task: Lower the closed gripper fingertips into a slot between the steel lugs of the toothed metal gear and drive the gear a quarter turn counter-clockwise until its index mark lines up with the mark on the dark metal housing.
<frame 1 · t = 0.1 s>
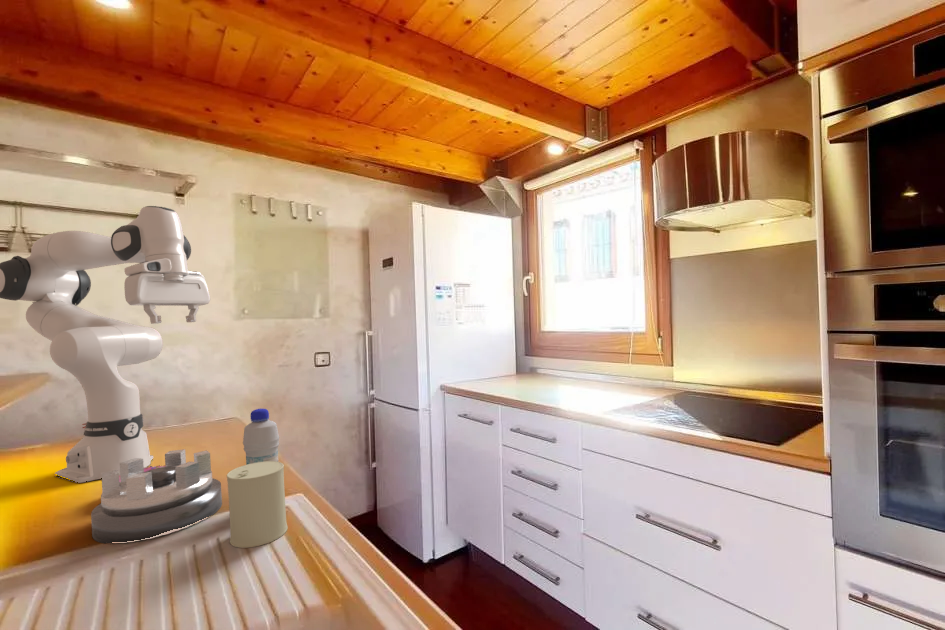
hand: (174, 322, 114), 39 cm above the countertop, tool pointing down, fingers open, 8 cm apart
donut: (143, 496, 101), on the countertop
toothed metal gear: (160, 478, 89), point 8 cm above the countertop, hinge at 0.0°
bottle: (265, 507, 91), on the countertop
can: (259, 535, 79), on the countertop
housing: (161, 516, 89), on the countertop
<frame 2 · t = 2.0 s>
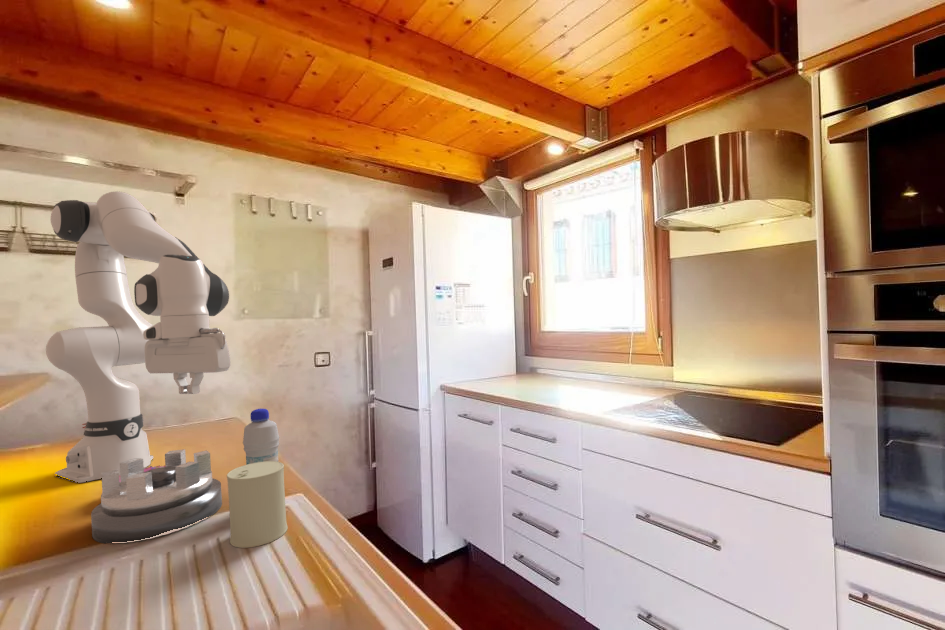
hand: (189, 393, 96), 23 cm above the countertop, tool pointing down, fingers closed
nothing on the countertop moved.
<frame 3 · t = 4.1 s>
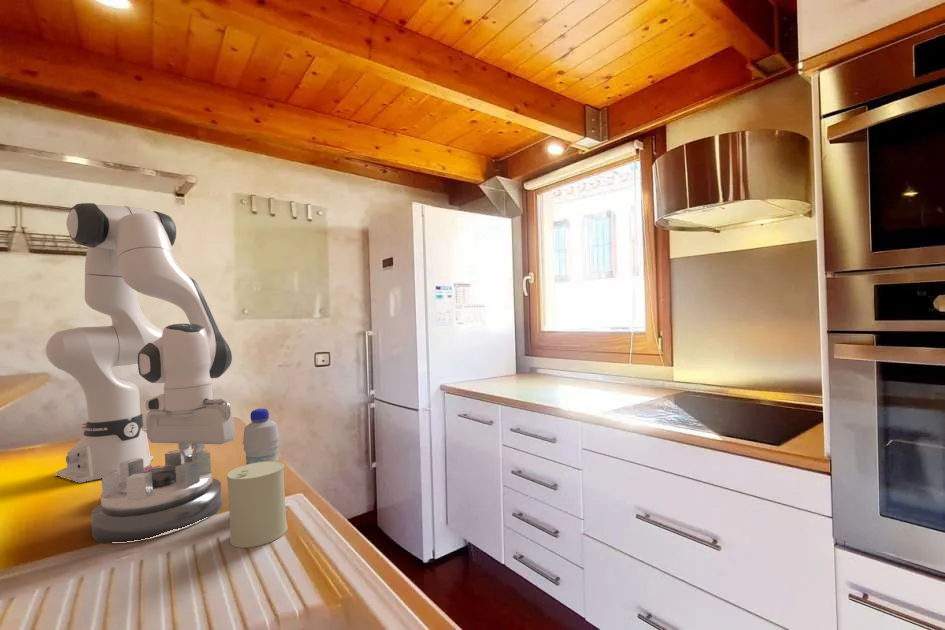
hand: (192, 463, 96), 8 cm above the countertop, tool pointing down, fingers closed
toothed metal gear: (160, 478, 89), point 8 cm above the countertop, hinge at 0.0°, touching gripper
everything else where it was.
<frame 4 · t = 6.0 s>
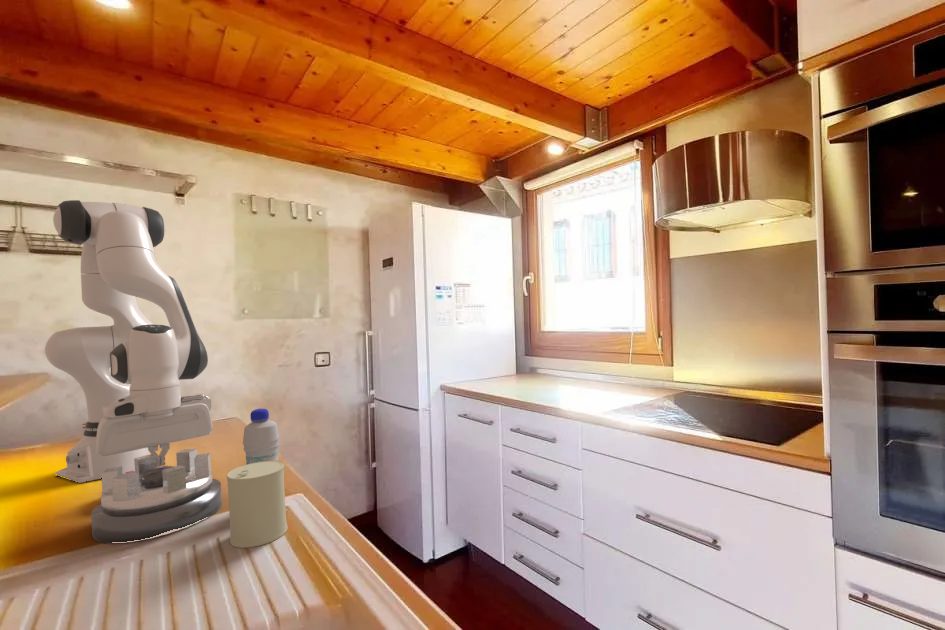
hand: (159, 465, 95), 8 cm above the countertop, tool pointing down, fingers closed, pressing on toothed metal gear
toothed metal gear: (159, 478, 89), point 8 cm above the countertop, hinge at 41.1°, touching gripper
everything else where it was.
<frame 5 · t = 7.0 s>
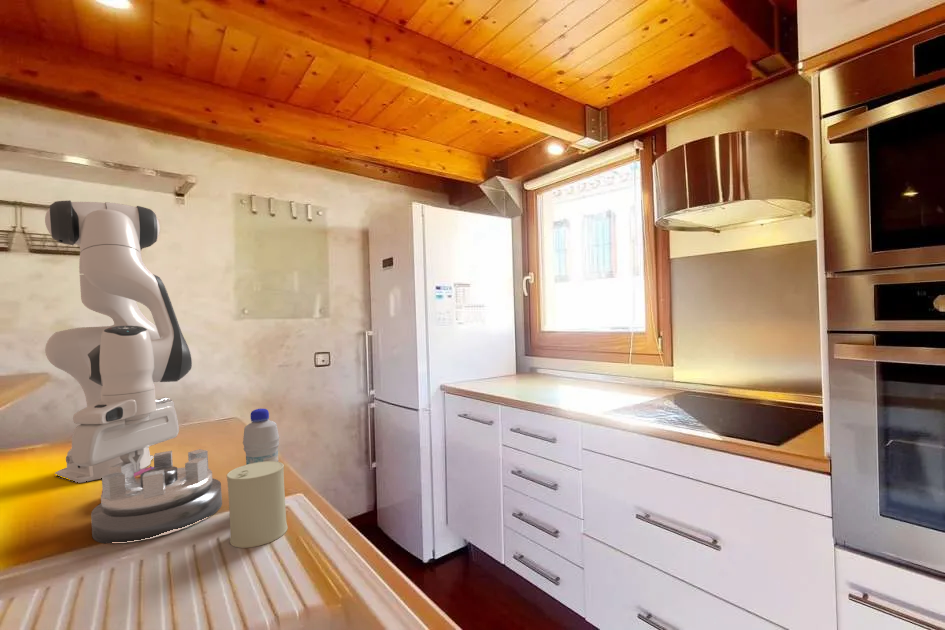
hand: (132, 472, 91), 8 cm above the countertop, tool pointing down, fingers closed, pressing on toothed metal gear
toothed metal gear: (159, 478, 89), point 8 cm above the countertop, hinge at 77.1°, touching gripper
everything else where it was.
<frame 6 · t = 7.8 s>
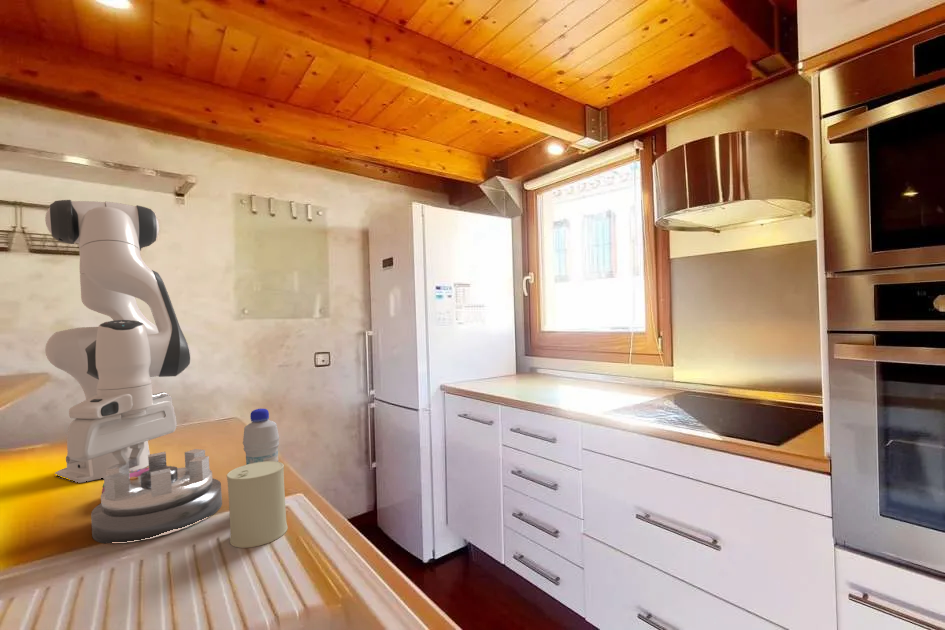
hand: (129, 467, 91), 9 cm above the countertop, tool pointing down, fingers closed
toothed metal gear: (159, 478, 89), point 8 cm above the countertop, hinge at 85.0°, touching gripper
everything else where it was.
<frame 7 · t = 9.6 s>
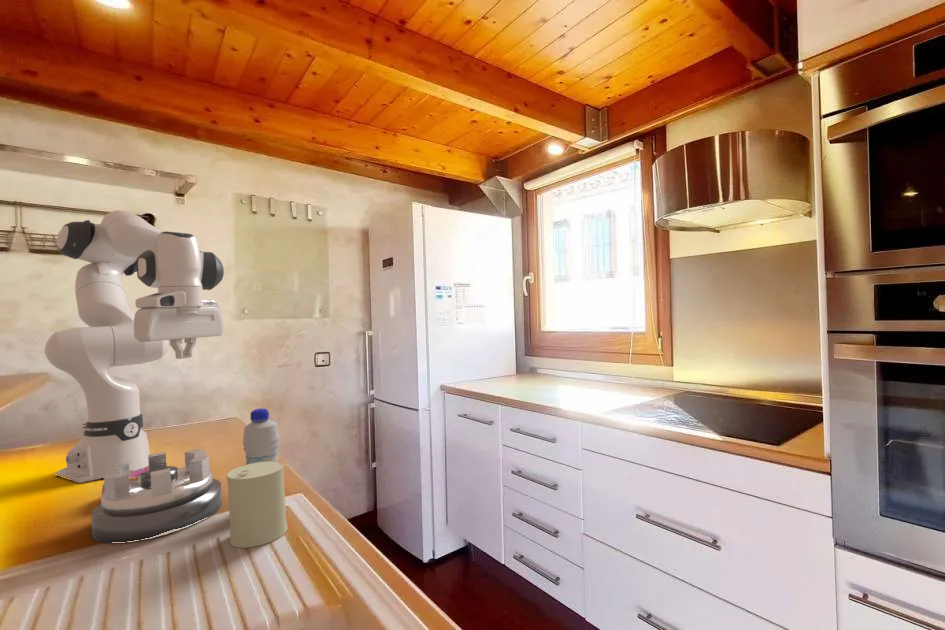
hand: (184, 358, 106), 30 cm above the countertop, tool pointing down, fingers closed
toothed metal gear: (159, 478, 89), point 8 cm above the countertop, hinge at 85.0°
everything else where it was.
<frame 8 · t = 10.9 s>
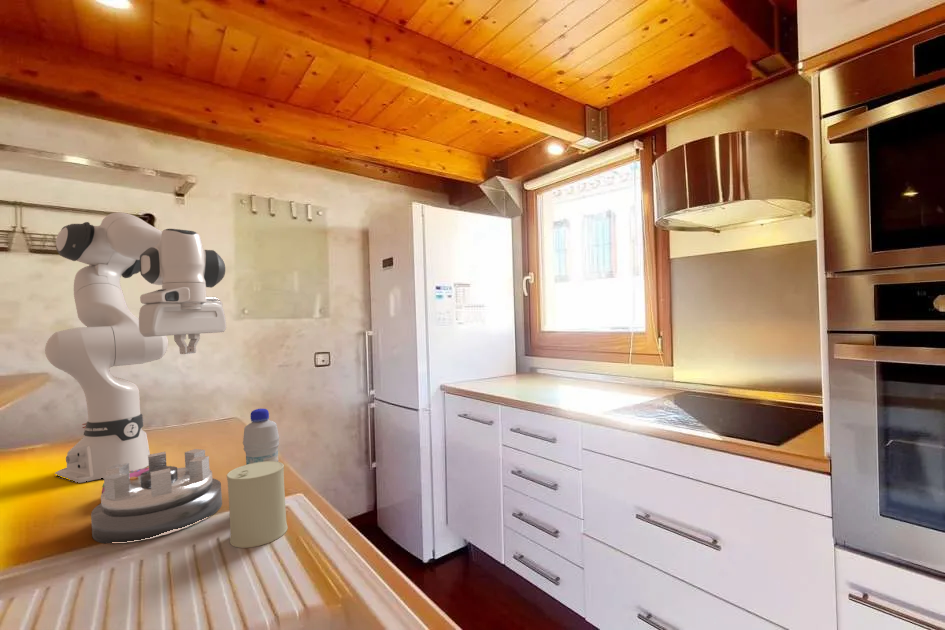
hand: (188, 353, 107), 31 cm above the countertop, tool pointing down, fingers closed
nothing on the countertop moved.
at the end: toothed metal gear at +85° (first picture: +0°) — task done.
